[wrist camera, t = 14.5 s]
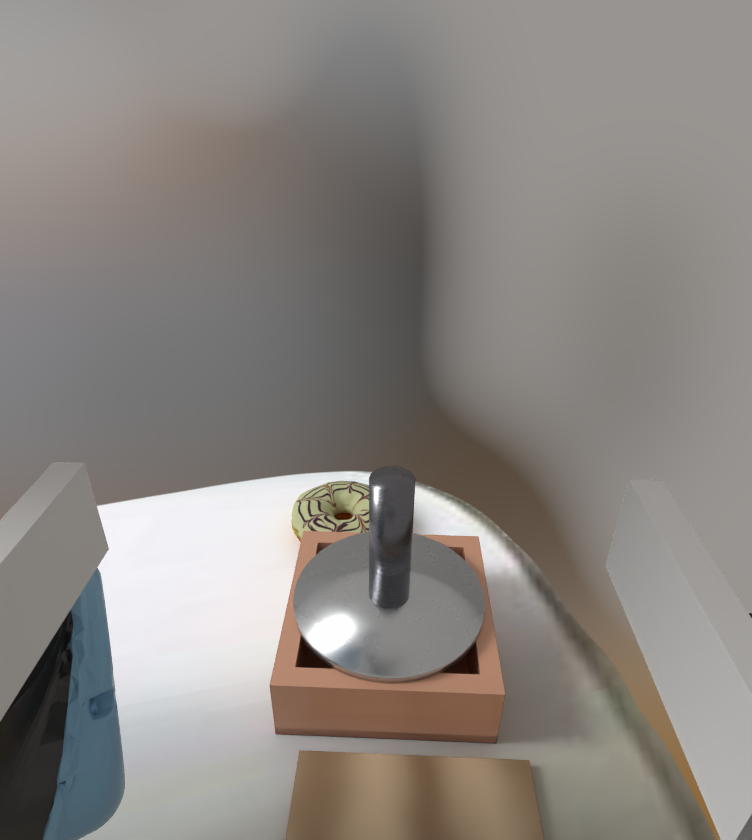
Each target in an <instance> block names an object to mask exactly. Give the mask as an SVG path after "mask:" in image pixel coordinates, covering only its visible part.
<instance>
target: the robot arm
mask: <svg viewBox="0 0 752 840" xmlns="http://www.w3.org/2000/svg"><path fill="white" fill-rule="evenodd" d="M108 549H109V548H108V544H107V541H106V537H105V534H104V530H103V527H102V523H101V520H100V516H99V513H98V509H97V506H96V503H95V499H94V495H93V492H92V488H91V485H90V481H89V478H88V474H87V470H86V467H85V464H84V463H66V462H53V463H52V464H51V465H50V467H49V468H48V469H47V470H46V471H45V472H44V473H43V474H42V475H41V476H40V477H39V478H38V480H37V481H36V482H35V483H34V484H33V485H32V486H31V487H30V488H29V489H28V490H27V492H26V493H25V494H24V495H23V496H22V497H21V498H20V499H19V500H18V501H17V502H16V504H15V505H14V506H13V507H12V508H11V509H10V510H9V511H8V512H7V513H6V514H5V516H4V517H3V518H2V519H0V840H78V839H80V838H81V837H83V836H85V835H87V834H89V833H91V832H93V831H95V830H97V829H99V828H100V827H102V826H103V825H104V824H105V823H106V822H107V821H108V820H109V819H110V818H111V817H112V816H113V814H114V813H115V812H116V810H117V808H118V806H119V804H120V802H121V800H122V797H123V794H124V788H125V775H124V763H123V753H122V745H121V735H120V727H119V719H118V711H117V703H116V697H115V684H114V677H113V665H112V656H111V648H110V639H109V631H108V623H107V616H106V608H105V600H104V593H103V586H102V579H101V574H100V571H99V570H98V568H97V567H98V565H99V564H100V562H101V560H102V559H103V557H104V556H105V554H106V552H107V551H108ZM606 568H607V571H608V573H609V575H610V578H611V580H612V582H613V585H614V587H615V589H616V592H617V594H618V597H619V599H620V601H621V604H622V606H623V609H624V611H625V613H626V616H627V618H628V621H629V623H630V625H631V628H632V630H633V632H634V635H635V637H636V639H637V642H638V644H639V647H640V649H641V651H642V653H643V656H644V659H645V661H646V663H647V666H648V668H649V670H650V673H651V675H652V678H653V680H654V682H655V685H656V687H657V689H658V692H659V694H660V697H661V699H662V701H663V704H664V706H665V708H666V711H667V713H668V716H669V718H670V720H671V723H672V725H673V727H674V730H675V732H676V735H677V737H678V739H679V742H680V744H681V746H682V749H683V751H684V753H685V756H686V758H687V761H688V763H689V765H690V767H691V770H692V773H693V775H694V777H695V780H696V782H697V784H698V786H699V789H700V792H701V794H702V796H703V798H704V801H705V803H706V805H707V808H708V810H709V813H710V815H711V818H712V820H713V822H714V825H715V827H716V830H717V832H718V834H719V837H720V839H721V840H752V614H751V613H748V612H747V610H746V609H745V607H744V606H743V604H742V603H741V601H740V600H739V599H738V597H737V595H736V594H735V592H734V590H733V589H732V587H731V586H730V584H729V583H728V581H727V580H726V578H725V577H724V575H723V573H722V572H721V570H720V569H719V567H718V566H717V564H716V563H715V561H714V560H713V558H712V557H711V555H710V554H709V552H708V551H707V549H706V547H705V546H704V544H703V543H702V541H701V540H700V538H699V537H698V535H697V534H696V532H695V531H694V529H693V528H692V526H691V525H690V523H689V521H688V520H687V518H686V517H685V516H684V514H683V512H682V511H681V509H680V508H679V506H678V505H677V503H676V501H675V500H674V498H673V497H672V496H671V494H670V492H669V491H668V489H667V488H666V486H665V485H664V483H663V482H662V480H640V479H629V481H628V485H627V488H626V492H625V496H624V499H623V503H622V507H621V510H620V514H619V518H618V522H617V525H616V528H615V532H614V536H613V540H612V543H611V547H610V551H609V554H608V558H607V562H606Z"/></svg>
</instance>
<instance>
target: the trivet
mask: <svg viewBox="0 0 752 840" xmlns="http://www.w3.org/2000/svg"><path fill="white" fill-rule="evenodd" d="M286 840H544V836H543V831H542V826H541V820H540V815H539V810H538V804H537V799H536V794H535V788H534V783H533V778H532V772H531V767H530V762H529V760H508V759H485V758H462V757H439V756H416V755H393V754H370V753H346V752H323V751H300V750H299V757H298V763H297V770H296V776H295V783H294V789H293V796H292V802H291V809H290V815H289V822H288V828H287V835H286Z"/></svg>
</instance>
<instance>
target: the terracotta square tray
mask: <svg viewBox="0 0 752 840" xmlns="http://www.w3.org/2000/svg"><path fill="white" fill-rule="evenodd" d="M356 534H360V533H354V532H323V531H303V536H302V540H301V545H300V549H299V554H298V558H297V563H296V567H295V572H294V577H293V581H292V586H291V590H290V595H289V599H288V604H287V608H286V613H285V618H284V622H283V627H282V631H281V636H280V640H279V645H278V650H277V654H276V659H275V663H274V668H273V672H272V677H271V681H270V692H271V700H272V708H273V716H274V724H275V732H276V734H289V735H312V736H336V737H359V738H383V739H406V740H430V741H454V742H477V743H496V742H497V737H498V731H499V726H500V721H501V715H502V710H503V705H504V699H505V690H504V684H503V678H502V672H501V666H500V660H499V654H498V648H497V643H496V637H495V631H494V625H493V619H492V613H491V607H490V601H489V595H488V589H487V583H486V577H485V571H484V566H483V560H482V554H481V548H480V542H479V537H476V536H446V535H421V536H424V537H427V538H430V539H433V540H435V541H437V542H439V543H441V544H443V545H445V546H447V547H448V548H450V549H452V550H453V551H454V552H456V553H457V554H458V555H460V556H461V557H462V558H463V559H464V560H465V561H466V562H467V563H468V564H469V565H470V567H471V568H472V569H473V570H474V572H475V574H476V575H477V577H478V579H479V581H480V583H481V586H482V589H483V593H484V597H485V612H484V620H483V625H482V629H481V632H480V635H479V637H478V639H477V641H476V643H475V644H474V646H473V647H472V648H471V650H470V651H469V652H468V653H467V654H466V655H465V656H464V657H463V658H462V659H461V660H460V661H459V662H457V663H456V664H455V665H454V666H452V667H451V668H449V669H447V670H445V671H443V672H442V673H440V674H437V675H435V676H432V677H430V678H426V679H423V680H419V681H415V682H407V683H395V684H385V683H375V682H369V681H364V680H360V679H356V678H354V677H351V676H348V675H345V674H343V673H341V672H339V671H337V670H335V669H333V668H332V667H330V666H329V665H327V664H326V663H324V662H323V661H321V660H320V659H319V658H318V657H317V656H316V655H315V654H314V653H313V652H312V651H311V650H310V649H309V648H308V646H307V645H306V644H305V642H304V640H303V639H302V637H301V636H300V633H299V631H298V628H297V626H296V621H295V617H294V604H293V597H294V590H295V586H296V583H297V580H298V578H299V576H300V574H301V572H302V570H303V569H304V568H305V566H306V565H307V564H308V562H309V561H310V560H311V559H312V558H313V557H314V556H315V555H316V554H318V553H319V552H320V551H321V550H323V549H324V548H326V547H327V546H329V545H331V544H333V543H335V542H336V541H338V540H341V539H344V538H346V537H349V536H352V535H356Z"/></svg>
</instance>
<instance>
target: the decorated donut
mask: <svg viewBox="0 0 752 840" xmlns="http://www.w3.org/2000/svg"><path fill="white" fill-rule="evenodd" d="M292 528H293V531H294V533H295V534H296V536H297V538H298V539H299V540H300V542H301V540H302V536H303V531H323V532H354V533H365V532H369V485H366V484H362V483H358V482H353V481H336V482H328V483H325V484H323V485H320V486H318V487H315V488H313V489H310V490H308V491H306V492H305V493H303V494H301V495H300V496H299V498H298V499H297V501H296V502H295V504H294V506H293V511H292Z"/></svg>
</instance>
